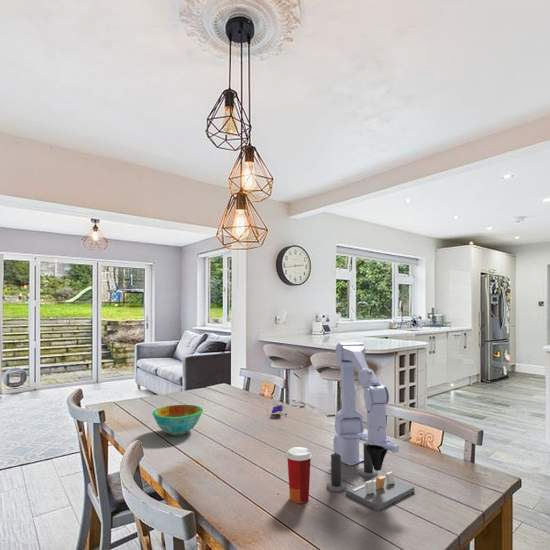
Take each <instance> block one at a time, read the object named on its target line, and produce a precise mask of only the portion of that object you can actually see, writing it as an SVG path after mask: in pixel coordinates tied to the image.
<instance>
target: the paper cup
mask: <svg viewBox="0 0 550 550" xmlns="http://www.w3.org/2000/svg"><path fill="white" fill-rule="evenodd" d="M285 456H286V458H287V470H288V471H287V473H288V487H289V499H290V500H289V501H291V502H292V503H294V504H298V503H301V504H305V503H307V502H309V497H310V480H311V477H310V476H311V475H310V474H311V458H312V456H313V455H312V454H311V451H310V449H308V448H307V447H302V446H296V447H290V448H289V449H288V451H286V453H285Z"/></svg>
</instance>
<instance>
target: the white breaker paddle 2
mask: <svg viewBox="0 0 550 550" xmlns="http://www.w3.org/2000/svg"><path fill="white" fill-rule="evenodd" d="M384 475H385V476H386V482H387V484H392V483H394V482H395V480H394V479H395V473H394V471H388V472H385V473H384Z"/></svg>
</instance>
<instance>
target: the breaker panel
mask: <svg viewBox="0 0 550 550" xmlns="http://www.w3.org/2000/svg"><path fill="white" fill-rule="evenodd" d="M380 476H383V477H385V481H384V487H382V488H380V489H377V488H376V487H375V486H376V478H377V477H380ZM369 480H372V481H373V482H374V489H375V492H373V493H371V494H367V493H366V488H365V482H367V481H369ZM394 480H395V482H394V483H392V484H387V482H386V476H385V473H381V474H378V476H376V477H374V478H368V480H364V481H363V482H361V483H360V482H359V483H358V484H356V485H353V486H351V487H349V488H346V490H345V496H347V495H348V496H347V497H349V496H350V497H349V498H351V497H352V499H353V498H354V500H355V501H357V502H359V503H361V504H363V505H365V506H367V507H370V508H371V507H372V508H371V509H374V510H375V511H377V512H380V511H381V510H382V509H385V508H387V507H389V506H390V504H391V505H393V504H394V503H393V502H395V503H396V502H398V501H400V500H402V499H404V498H406V497H407V495H408V494H410V493H412V492H414V493H415V486H413V485H410V484H408V483H405V482H402V481H401V480H398V479H396V478H394ZM412 494H413V493H412ZM410 495H411V494H410ZM405 496H406V497H405ZM408 496H409V495H408ZM403 497H404V498H403ZM401 498H402V499H401ZM399 499H400V500H399ZM392 503H393V504H392ZM388 505H389V506H388Z"/></svg>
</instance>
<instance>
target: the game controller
mask: <svg viewBox="0 0 550 550" xmlns="http://www.w3.org/2000/svg"><path fill="white" fill-rule="evenodd" d="M274 405H276V406H273V407H272V410H271V414H275V413H276V414H277V413H278V412H279V413H278V415H283V413H281V412H283V410H284V409H286V407H285V406H283V405H282V404H275V403H274ZM266 411H267V412H269V410H268V409H267V410H266ZM287 415H288V413H287V412H286V413H285V415H284V416H285V417H287Z"/></svg>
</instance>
